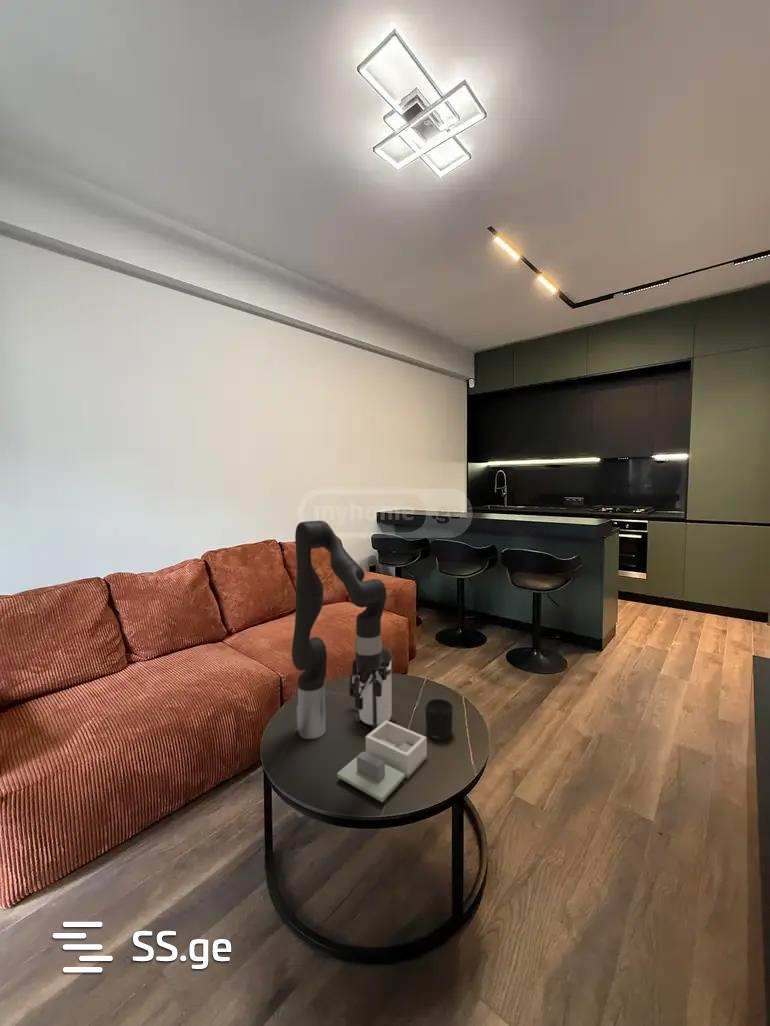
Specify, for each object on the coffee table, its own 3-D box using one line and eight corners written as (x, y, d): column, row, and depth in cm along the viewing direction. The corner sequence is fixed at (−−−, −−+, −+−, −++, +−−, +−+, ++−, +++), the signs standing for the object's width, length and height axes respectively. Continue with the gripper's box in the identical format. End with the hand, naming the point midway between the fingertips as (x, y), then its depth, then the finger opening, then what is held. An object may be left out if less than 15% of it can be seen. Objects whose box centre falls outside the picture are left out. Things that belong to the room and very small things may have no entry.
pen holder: (420, 730, 144) (420, 703, 144) (442, 722, 149) (442, 696, 148) (435, 745, 136) (435, 716, 135) (458, 737, 140) (458, 709, 140)
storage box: (365, 757, 131) (365, 736, 130) (386, 739, 139) (385, 720, 139) (407, 778, 121) (407, 756, 121) (426, 758, 130) (426, 737, 129)
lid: (337, 780, 120) (336, 758, 120) (361, 759, 129) (361, 738, 129) (381, 806, 110) (381, 782, 110) (404, 780, 120) (404, 759, 119)
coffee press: (397, 709, 158) (396, 633, 156) (394, 734, 142) (393, 650, 140) (353, 707, 160) (352, 632, 158) (345, 731, 144) (343, 649, 142)
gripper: (373, 637, 126) (373, 688, 127) (342, 653, 115) (342, 708, 116) (393, 643, 121) (393, 696, 123) (362, 660, 110) (363, 718, 111)
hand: (368, 702), depth 119 cm, fingers open, 8 cm apart
